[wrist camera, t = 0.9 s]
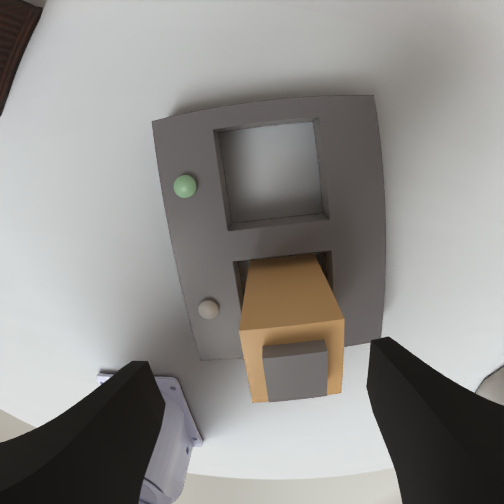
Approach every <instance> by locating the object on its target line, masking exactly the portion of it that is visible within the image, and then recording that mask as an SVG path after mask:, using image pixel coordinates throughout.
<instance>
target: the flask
mask: <svg viewBox="0 0 504 504" xmlns="http://www.w3.org/2000/svg"><path fill="white" fill-rule="evenodd" d="M476 394H478V395H480V396H482V397H484V398H486V399H488V400H491V401H493V402H496V403H498V404H501V405H504V367H502V368H501V369H500V370H498V371H497V372H495V373H494V374H493V375H491V376H490V377H488V378H487V379H485V380H484V381H483V382H482V384H481V385H480V387H479V388H478V390H477V391H476Z"/></svg>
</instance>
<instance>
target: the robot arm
mask: <svg viewBox="0 0 504 504" xmlns="http://www.w3.org/2000/svg"><path fill="white" fill-rule="evenodd" d="M96 379H97V381H98V383H99V385H100V386H99V387H98V388H96V389H95V390H94V391H93V392H91V393H90V394H89V395H88V396H86V397H85V398H83V399H82V400H81V401H79V402H78V403H77V404H75V405H74V406H72V407H71V408H70V409H68V410H67V411H65V412H64V413H62V414H61V415H59V416H58V417H56V418H54V419H53V420H51V421H49V422H47V423H46V424H44V425H42V426H40V427H38V428H36V429H34V430H32V431H30V432H27V433H25V434H23V435H21V436H18V437H16V438H13V439H10V440H8V441H5V442H1V443H0V504H172V503H173V502H175V501H176V500H177V499H178V497H179V496H180V495H181V493H182V490H183V487H184V482H185V477H186V474H187V469H188V465H189V461H190V457H191V452H192V448H193V447H201V446H202V445H203V441H202V439H201V437H200V435H199V432H198V430H197V428H196V425H195V423H194V420H193V418H192V416H191V413H190V411H189V408H188V406H187V403H186V400H185V398H184V395H183V393H182V390H181V387H180V385H179V382H178V380H177V379H176V378H174V377H154V375H153V373H152V371H151V368H150V366H149V363H148V361H132V362H130V363H129V364H127V365H126V366H124V367H123V368H122V369H120V370H119V371H118V372H117V373H115V374H103V373H99V374H98V375H97V376H96ZM172 386H173V387H172ZM174 387H175V388H174ZM366 387H367V391H368V395H369V399H370V403H371V406H372V410H373V413H374V416H375V419H376V421H377V424H378V426H379V429H380V431H381V434H382V436H383V439H384V441H385V444H386V446H387V449H388V452H389V454H390V457H391V459H392V462H393V465H394V468H395V471H396V474H397V479H398V483H399V488H400V493H401V498H402V503H403V504H504V405H501V404H498V403H496V402H493V401H491V400H488V399H486V398H484V397H482V396H480V395H478V394H476V393H474V392H472V391H470V390H468V389H466V388H464V387H462V386H460V385H459V384H457V383H455V382H454V381H452V380H450V379H449V378H447V377H445V376H444V375H442V374H441V373H439V372H438V371H436V370H435V369H433V368H432V367H430V366H429V365H427V364H426V363H425V362H423V361H422V360H420V359H419V358H418V357H416V356H415V355H413V354H412V353H411V352H409V351H408V350H407V349H405V348H404V347H403V346H401V345H400V344H399V343H397V342H396V341H394V340H393V339H392V338H390V337H384V338H379V339H374V340H371V345H370V357H369V368H368V378H367V386H366Z"/></svg>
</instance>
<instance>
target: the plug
mask: <svg viewBox="0 0 504 504" xmlns="http://www.w3.org/2000/svg"><path fill="white" fill-rule="evenodd" d="M344 321H345V319H344V317H343V314H342V312H341V310H340V308H339V306H338V303H337V301H336V299H335V297H334V295H333V292H332V290H331V288H330V286H329V284H328V282H327V280H326V278H325V275H324V273H323V271H322V269H321V267H320V265H319V263H318V261H317V259H316V257H315V255H314V253H312V254H303V255H294V256H285V257H277V258H268V259H259V260H250V262H249V268H248V274H247V281H246V287H245V294H244V300H243V307H242V313H241V320H240V326H239V335H240V340H241V345H242V351H243V356H244V361H245V366H246V372H247V377H248V382H249V387H250V392H251V397H252V402H253V403H254V402H277V401H288V400H297V399H306V398H314V397H321V396H327V395H331V394H337V393H341V391H342V375H343V356H344Z"/></svg>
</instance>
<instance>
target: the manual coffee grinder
mask: <svg viewBox="0 0 504 504" xmlns="http://www.w3.org/2000/svg"><path fill="white" fill-rule="evenodd" d="M41 12H42V7H36V6H34V5H31V4H29V3H27V2H25V1H23V0H0V116H1V113H2V110H3V107H4V104H5V102H6V99H7V96H8V93H9V90H10V87H11V84H12V81H13V79H14V76H15V73H16V70H17V68H18V65H19V63H20V60H21V58H22V55H23V53H24V51H25V48H26V46H27V44H28V42H29V39H30V37H31V35H32V33H33V31H34V29H35V27H36V25H37V23H38V21H39V19H40V16H41Z"/></svg>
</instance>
